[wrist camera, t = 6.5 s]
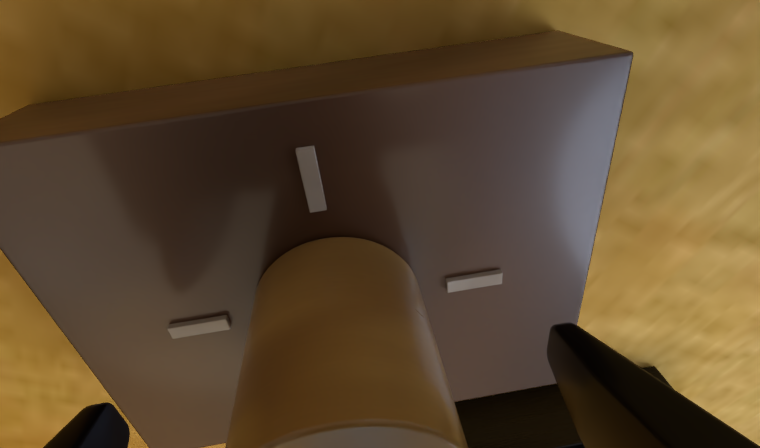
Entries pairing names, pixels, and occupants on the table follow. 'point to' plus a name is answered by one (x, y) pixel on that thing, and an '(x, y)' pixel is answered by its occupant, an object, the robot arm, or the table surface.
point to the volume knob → (342, 356)
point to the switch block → (522, 419)
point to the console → (314, 209)
